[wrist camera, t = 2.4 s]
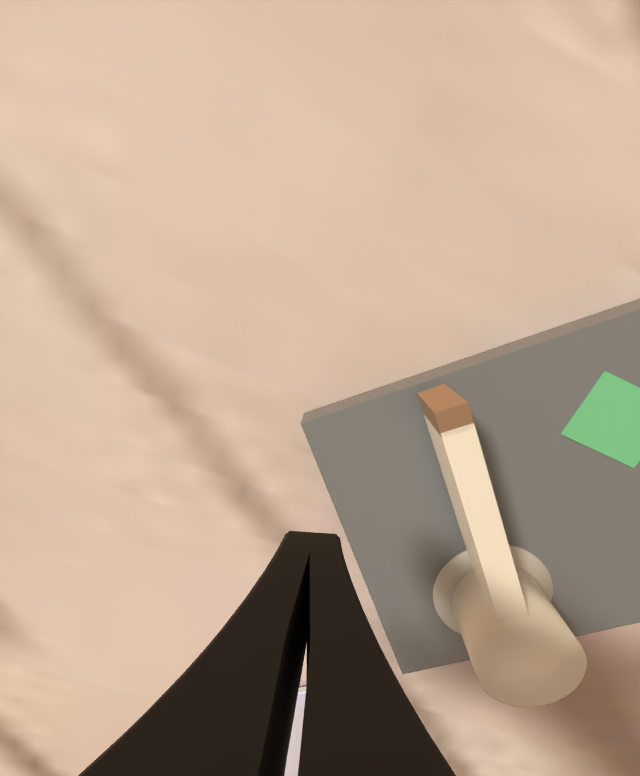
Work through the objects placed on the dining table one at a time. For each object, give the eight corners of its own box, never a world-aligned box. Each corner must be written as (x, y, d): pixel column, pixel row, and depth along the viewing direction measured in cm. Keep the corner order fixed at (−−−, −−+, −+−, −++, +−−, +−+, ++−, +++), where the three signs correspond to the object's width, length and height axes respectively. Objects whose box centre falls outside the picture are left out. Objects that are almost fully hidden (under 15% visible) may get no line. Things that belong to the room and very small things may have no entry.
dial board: (762, 564, 18) (801, 588, 16) (398, 648, 21) (402, 675, 19) (735, 266, 15) (781, 262, 13) (303, 413, 17) (300, 424, 16)
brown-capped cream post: (549, 624, 17) (595, 695, 14) (464, 643, 18) (490, 715, 15) (481, 371, 14) (520, 390, 11) (381, 404, 15) (392, 431, 12)
